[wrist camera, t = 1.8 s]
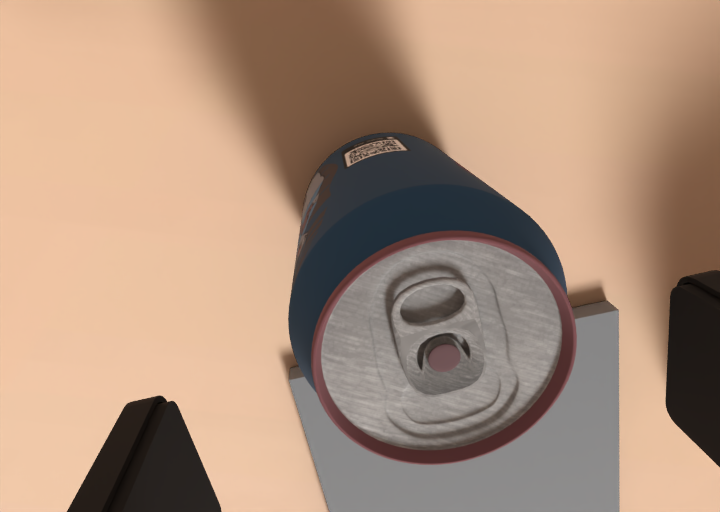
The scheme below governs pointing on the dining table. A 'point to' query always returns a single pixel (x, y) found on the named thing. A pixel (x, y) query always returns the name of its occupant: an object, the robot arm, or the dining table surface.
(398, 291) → the soda can
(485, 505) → the mat
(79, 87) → the dining table surface
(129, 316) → the dining table surface
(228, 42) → the dining table surface
